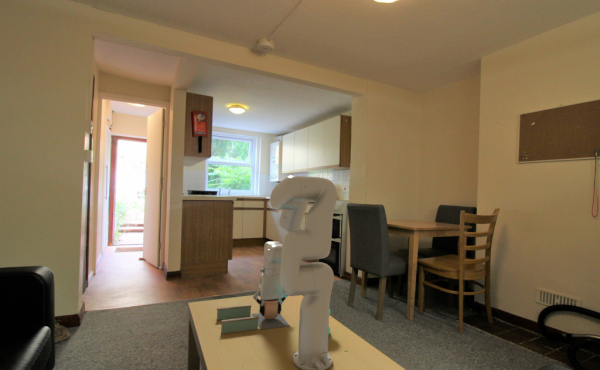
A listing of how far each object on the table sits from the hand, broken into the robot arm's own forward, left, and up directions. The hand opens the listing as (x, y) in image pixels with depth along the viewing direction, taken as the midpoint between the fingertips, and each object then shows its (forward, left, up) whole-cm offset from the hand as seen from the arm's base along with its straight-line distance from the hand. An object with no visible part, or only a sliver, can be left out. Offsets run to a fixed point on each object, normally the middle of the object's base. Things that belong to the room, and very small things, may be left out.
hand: (270, 313), depth 131 cm
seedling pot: (0, 0, -1) cm, 1 cm away
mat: (0, 0, -3) cm, 3 cm away
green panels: (0, +14, -3) cm, 14 cm away
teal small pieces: (-17, -14, -3) cm, 22 cm away
